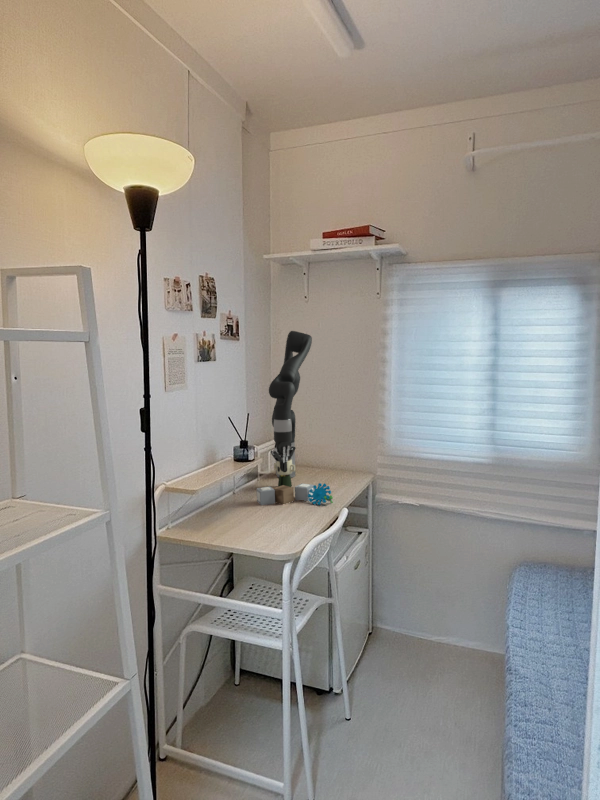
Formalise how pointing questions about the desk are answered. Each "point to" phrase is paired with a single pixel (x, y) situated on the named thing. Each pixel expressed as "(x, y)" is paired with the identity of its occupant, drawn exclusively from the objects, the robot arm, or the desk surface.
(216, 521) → the desk surface
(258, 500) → the grey block front
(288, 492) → the walnut block
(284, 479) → the character mug
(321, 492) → the gear
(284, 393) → the robot arm
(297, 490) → the grey block back
